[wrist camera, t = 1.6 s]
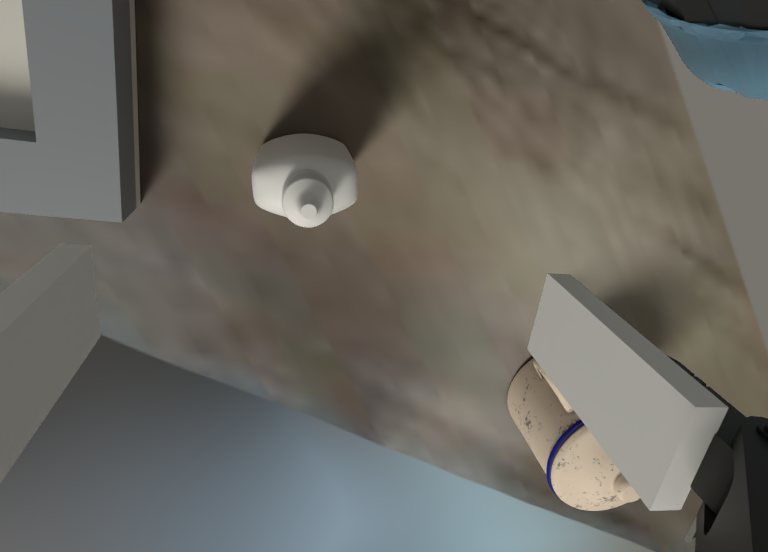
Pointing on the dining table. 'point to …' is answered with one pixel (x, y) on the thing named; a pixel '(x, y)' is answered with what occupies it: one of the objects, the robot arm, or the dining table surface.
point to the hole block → (69, 109)
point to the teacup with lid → (565, 444)
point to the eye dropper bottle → (304, 178)
